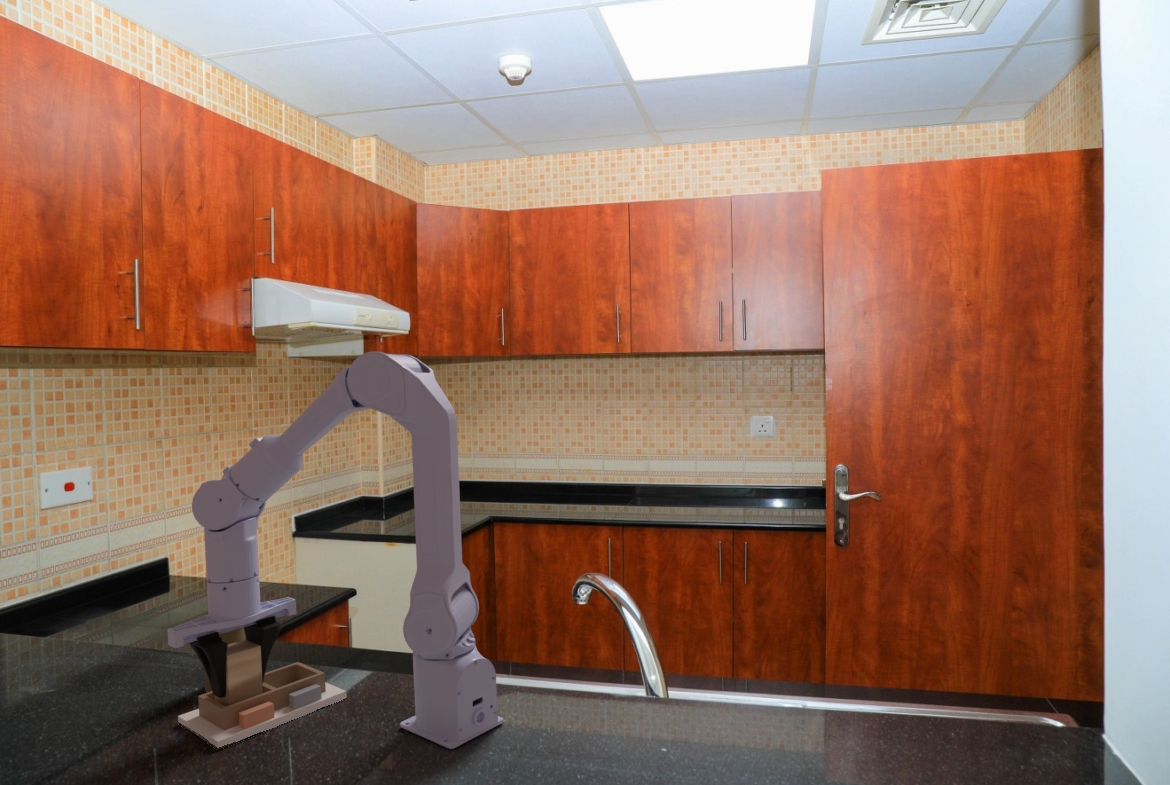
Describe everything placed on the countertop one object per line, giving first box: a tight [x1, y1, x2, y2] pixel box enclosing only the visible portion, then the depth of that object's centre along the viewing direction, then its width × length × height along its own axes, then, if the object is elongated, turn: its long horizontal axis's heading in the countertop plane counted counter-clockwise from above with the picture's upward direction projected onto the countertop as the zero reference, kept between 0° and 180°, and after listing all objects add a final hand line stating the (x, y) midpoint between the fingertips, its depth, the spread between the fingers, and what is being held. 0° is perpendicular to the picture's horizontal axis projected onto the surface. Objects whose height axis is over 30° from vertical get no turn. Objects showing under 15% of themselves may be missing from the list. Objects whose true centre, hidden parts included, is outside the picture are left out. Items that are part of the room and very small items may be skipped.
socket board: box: [177, 661, 347, 748], centre depth 90 cm, size 11×16×3 cm
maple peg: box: [215, 640, 263, 706], centre depth 88 cm, size 4×4×7 cm
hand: (238, 688), depth 88 cm, fingers closed on maple peg, 4 cm apart
